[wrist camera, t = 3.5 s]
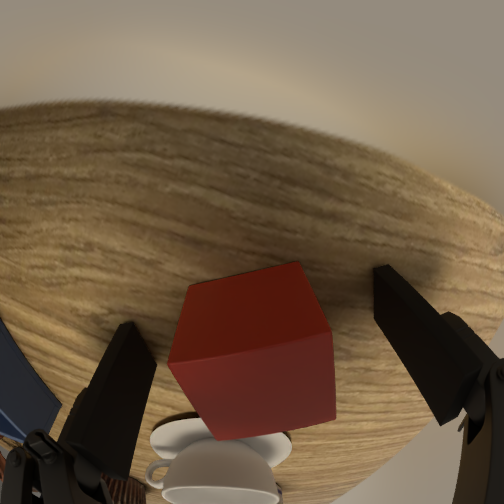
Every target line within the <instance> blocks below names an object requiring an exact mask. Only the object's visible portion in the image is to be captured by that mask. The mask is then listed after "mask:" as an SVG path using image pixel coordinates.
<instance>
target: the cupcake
mask: <svg viewBox="0 0 504 504" xmlns="http://www.w3.org/2000/svg"><path fill="white" fill-rule="evenodd" d="M101 478H102V479H103V480H104V481H105V483H106V485H107V488H108V491H109V493H110V496H111V499H112V501H113V504H146V495H145V487H144V485H142V484H141V483H139V482H138V481H136V480H135V479H133V478H131V477H128V481H123V480H117V479H111V478H110V477H109V476H107V475H106V474H104V473H103V472H102V475H101Z"/></svg>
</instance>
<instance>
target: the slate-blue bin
mask: <svg viewBox="0 0 504 504" xmlns="http://www.w3.org/2000/svg"><path fill="white" fill-rule="evenodd" d="M61 406H62V404H61V403H60V402H59V401H58V400H57V399H56V398H55V396H54V395H53V394H52V393H51V392H50V390H49V389H48V388H47V387H46V385H45V384H44V383H43V382H42V380H41V379H40V378H39V376H38V375H37V374H36V373H35V371H34V370H33V368H32V367H31V366H30V364H29V363H28V362H27V360H26V359H25V357H24V356H23V354H22V353H21V351H20V350H19V348H18V347H17V345H16V344H15V342H14V341H13V339H12V337H11V336H10V334H9V333H8V331H7V329H6V328H5V326H4V324H3V322H2V321H1V319H0V435H3V436H5V437H8V438H10V439H13V440H15V441H18V442H21V443H23V442H24V440H25V438H26V436H27V435H28V434H29V433H30V432H31V431H33V430H35V429H42V430H44V431H45V432H46V433H47V434H49V432H50V430H51V428H52V425H53V423H54V421H55V419H56V417H57V414H58V412H59V409H60V408H61Z"/></svg>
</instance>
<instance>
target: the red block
mask: <svg viewBox="0 0 504 504" xmlns="http://www.w3.org/2000/svg"><path fill="white" fill-rule="evenodd" d="M167 365H168V367H169V369H170V370H171V372H172V374H173V375H174V377H175V379H176V380H177V382H178V384H179V385H180V387H181V389H182V390H183V392H184V393H185V395H186V396H187V398H188V400H189V401H190V403H191V404H192V406H193V407H194V409H195V410H196V412H197V413H198V415H199V416H200V418H201V419H202V421H203V422H204V424H205V425H206V426H207V428H208V429H209V431H210V432H211V433H212V435H213V436H214V438H215V439H216V440H217V441H223V440H233V439H241V438H249V437H256V436H263V435H269V434H275V433H280V432H285V431H290V430H295V429H300V428H304V427H308V426H313V425H317V424H321V423H324V422H328V421H332V420H335V419H336V388H335V368H334V351H333V338H332V331H331V328H330V326H329V324H328V322H327V320H326V318H325V315H324V313H323V311H322V309H321V307H320V305H319V302H318V300H317V298H316V296H315V294H314V292H313V290H312V288H311V285H310V283H309V281H308V279H307V277H306V275H305V273H304V271H303V269H302V267H301V265H300V263H299V261H296V262H292V263H288V264H284V265H279V266H275V267H271V268H266V269H262V270H258V271H253V272H249V273H245V274H240V275H236V276H232V277H227V278H223V279H218V280H214V281H209V282H205V283H200V284H196V285H191V286H189V287H188V290H187V294H186V297H185V301H184V304H183V307H182V311H181V314H180V318H179V321H178V325H177V329H176V332H175V336H174V340H173V343H172V347H171V351H170V355H169V358H168V362H167Z"/></svg>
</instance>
